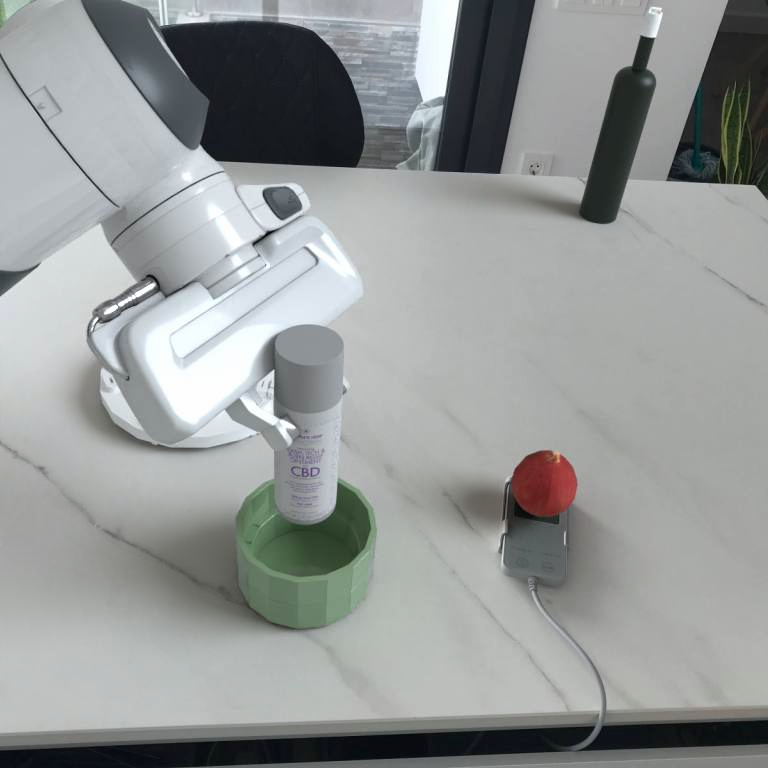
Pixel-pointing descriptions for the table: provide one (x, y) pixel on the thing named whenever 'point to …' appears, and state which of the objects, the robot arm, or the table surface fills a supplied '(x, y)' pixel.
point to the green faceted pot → (305, 558)
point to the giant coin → (208, 436)
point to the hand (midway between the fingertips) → (315, 419)
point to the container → (308, 421)
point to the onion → (544, 483)
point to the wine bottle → (621, 129)
